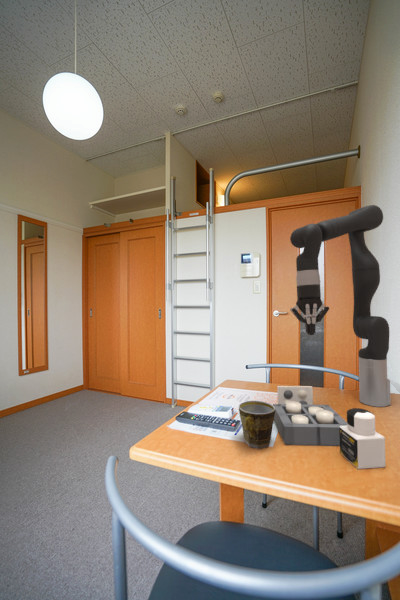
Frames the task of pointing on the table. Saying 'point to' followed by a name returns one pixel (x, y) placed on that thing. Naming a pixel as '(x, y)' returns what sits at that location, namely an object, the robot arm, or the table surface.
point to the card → (295, 394)
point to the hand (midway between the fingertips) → (310, 334)
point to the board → (308, 427)
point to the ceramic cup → (257, 423)
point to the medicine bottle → (362, 440)
